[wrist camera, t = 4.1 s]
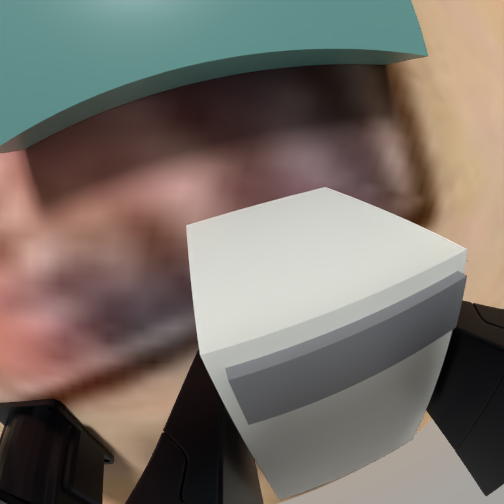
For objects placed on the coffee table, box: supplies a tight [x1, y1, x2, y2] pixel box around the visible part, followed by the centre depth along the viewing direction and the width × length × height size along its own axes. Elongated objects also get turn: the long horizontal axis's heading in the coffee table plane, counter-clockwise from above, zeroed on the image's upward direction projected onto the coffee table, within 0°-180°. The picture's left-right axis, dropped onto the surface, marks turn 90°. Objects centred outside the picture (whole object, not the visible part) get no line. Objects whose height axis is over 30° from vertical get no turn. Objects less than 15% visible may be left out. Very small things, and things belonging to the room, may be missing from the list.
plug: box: [186, 187, 467, 500], centre depth 7 cm, size 4×6×5 cm, turn 13°
